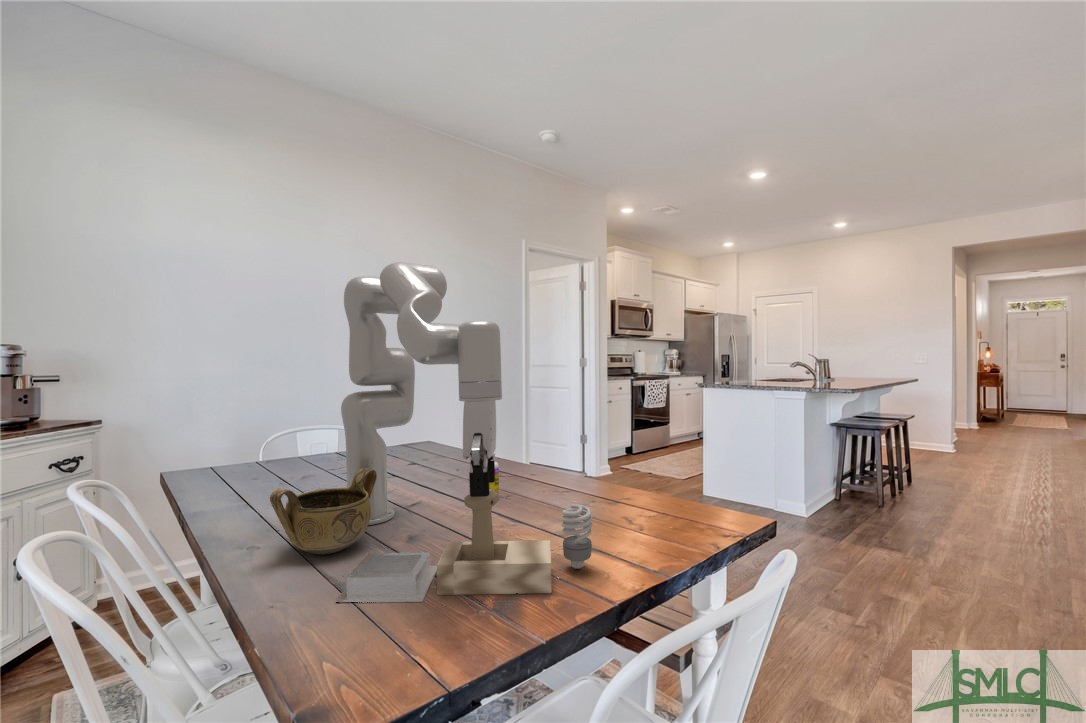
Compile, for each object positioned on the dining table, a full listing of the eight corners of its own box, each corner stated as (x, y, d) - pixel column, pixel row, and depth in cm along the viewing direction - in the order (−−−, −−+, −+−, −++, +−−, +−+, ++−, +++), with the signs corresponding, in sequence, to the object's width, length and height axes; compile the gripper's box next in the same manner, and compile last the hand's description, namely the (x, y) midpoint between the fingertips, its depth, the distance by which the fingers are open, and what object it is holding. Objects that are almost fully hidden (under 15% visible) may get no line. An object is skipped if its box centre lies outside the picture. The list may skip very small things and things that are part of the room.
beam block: (437, 594, 83) (436, 564, 83) (449, 568, 94) (448, 541, 94) (551, 593, 83) (550, 563, 83) (550, 566, 94) (550, 540, 94)
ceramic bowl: (352, 526, 118) (350, 463, 118) (399, 540, 109) (398, 471, 109) (253, 558, 100) (252, 483, 100) (300, 578, 90) (298, 495, 90)
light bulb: (560, 563, 95) (559, 500, 95) (589, 562, 95) (588, 499, 95) (564, 576, 89) (563, 509, 89) (595, 575, 90) (594, 508, 90)
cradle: (335, 603, 81) (335, 581, 81) (364, 569, 94) (364, 550, 94) (422, 601, 81) (421, 580, 81) (438, 568, 94) (438, 549, 94)
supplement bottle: (497, 501, 137) (497, 455, 137) (473, 502, 137) (473, 455, 137) (500, 495, 144) (499, 450, 144) (477, 495, 144) (476, 451, 144)
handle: (505, 577, 90) (504, 493, 90) (480, 590, 84) (479, 502, 84) (485, 570, 92) (484, 489, 92) (460, 583, 87) (458, 497, 87)
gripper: (466, 390, 97) (469, 478, 97) (450, 395, 79) (453, 503, 79) (505, 388, 97) (507, 477, 97) (497, 393, 79) (500, 501, 79)
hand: (483, 488), depth 88 cm, fingers open, 9 cm apart
